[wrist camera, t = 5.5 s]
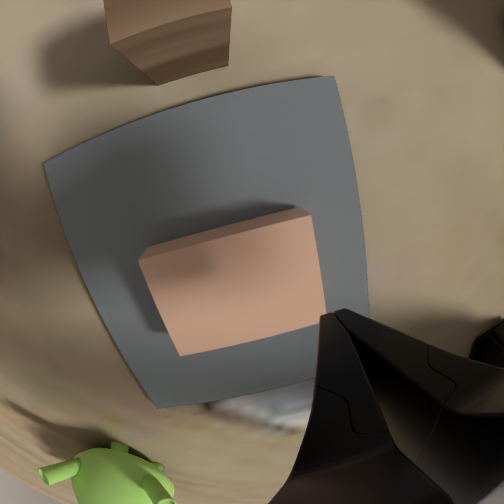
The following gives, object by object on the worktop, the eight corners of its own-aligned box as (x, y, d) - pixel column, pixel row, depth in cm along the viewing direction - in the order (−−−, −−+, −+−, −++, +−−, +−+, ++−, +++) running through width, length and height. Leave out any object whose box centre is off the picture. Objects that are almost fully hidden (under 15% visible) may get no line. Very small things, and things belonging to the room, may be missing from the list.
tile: (327, 320, 13) (179, 356, 13) (316, 301, 15) (183, 334, 15) (310, 214, 11) (137, 260, 11) (299, 205, 13) (148, 245, 13)
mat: (365, 353, 17) (369, 359, 16) (158, 402, 17) (157, 408, 16) (329, 78, 11) (334, 75, 11) (49, 162, 11) (43, 163, 11)
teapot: (88, 470, 21) (74, 529, 13) (54, 412, 17) (23, 488, 10) (185, 489, 23) (184, 553, 15) (180, 439, 19) (174, 532, 11)
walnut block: (228, 65, 11) (231, 7, 5) (158, 85, 11) (109, 44, 5) (212, 10, 10) (207, -65, 4) (145, 29, 10) (100, -32, 4)
